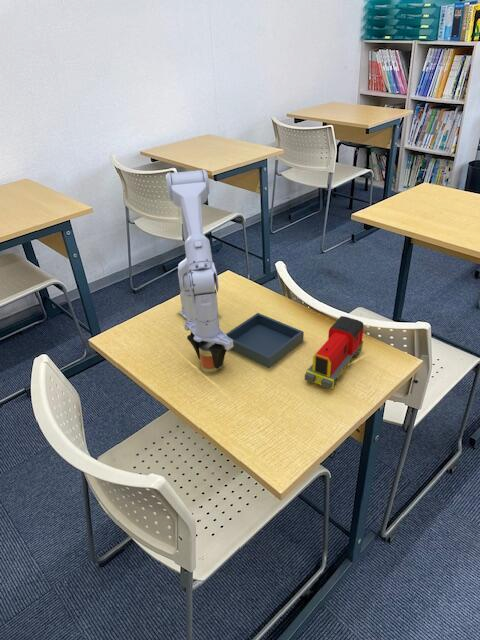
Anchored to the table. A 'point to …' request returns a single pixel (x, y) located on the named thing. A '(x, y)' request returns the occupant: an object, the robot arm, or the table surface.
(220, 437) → the table surface
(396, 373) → the table surface
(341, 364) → the toy train
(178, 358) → the table surface
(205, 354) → the tin can
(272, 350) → the tub
